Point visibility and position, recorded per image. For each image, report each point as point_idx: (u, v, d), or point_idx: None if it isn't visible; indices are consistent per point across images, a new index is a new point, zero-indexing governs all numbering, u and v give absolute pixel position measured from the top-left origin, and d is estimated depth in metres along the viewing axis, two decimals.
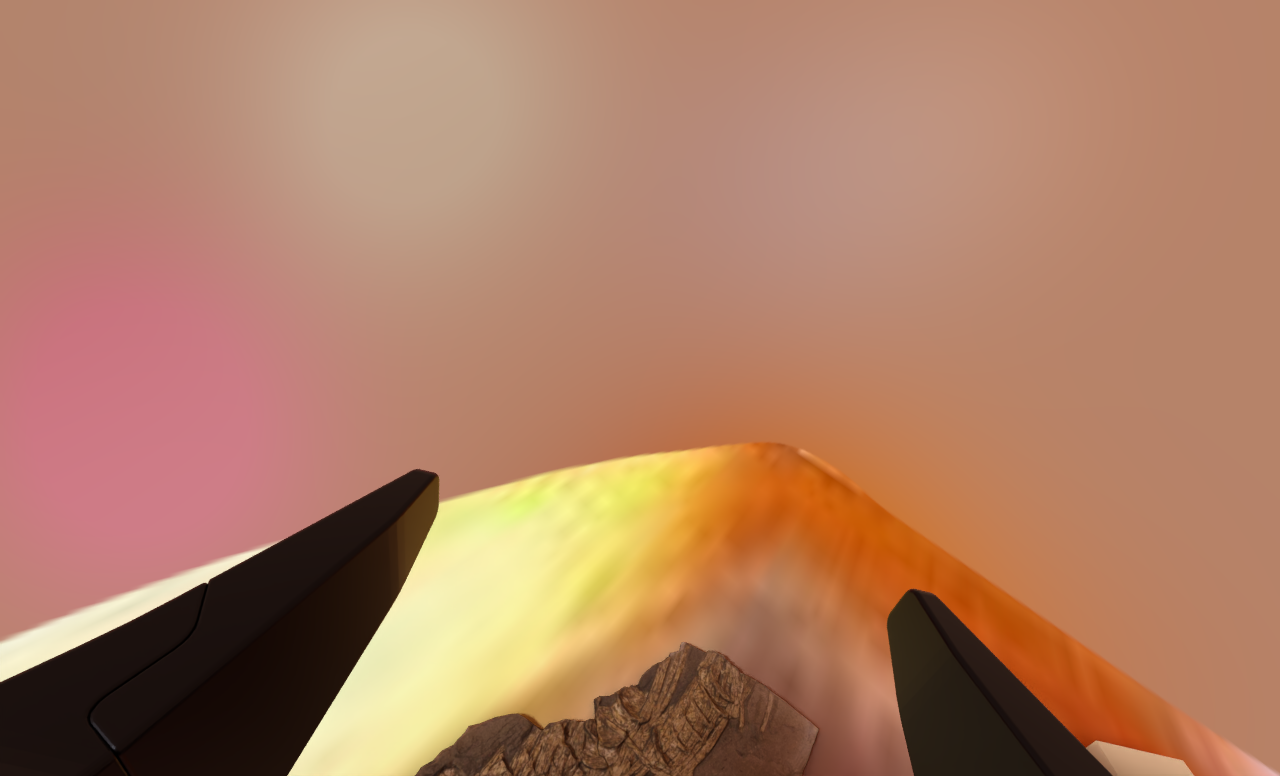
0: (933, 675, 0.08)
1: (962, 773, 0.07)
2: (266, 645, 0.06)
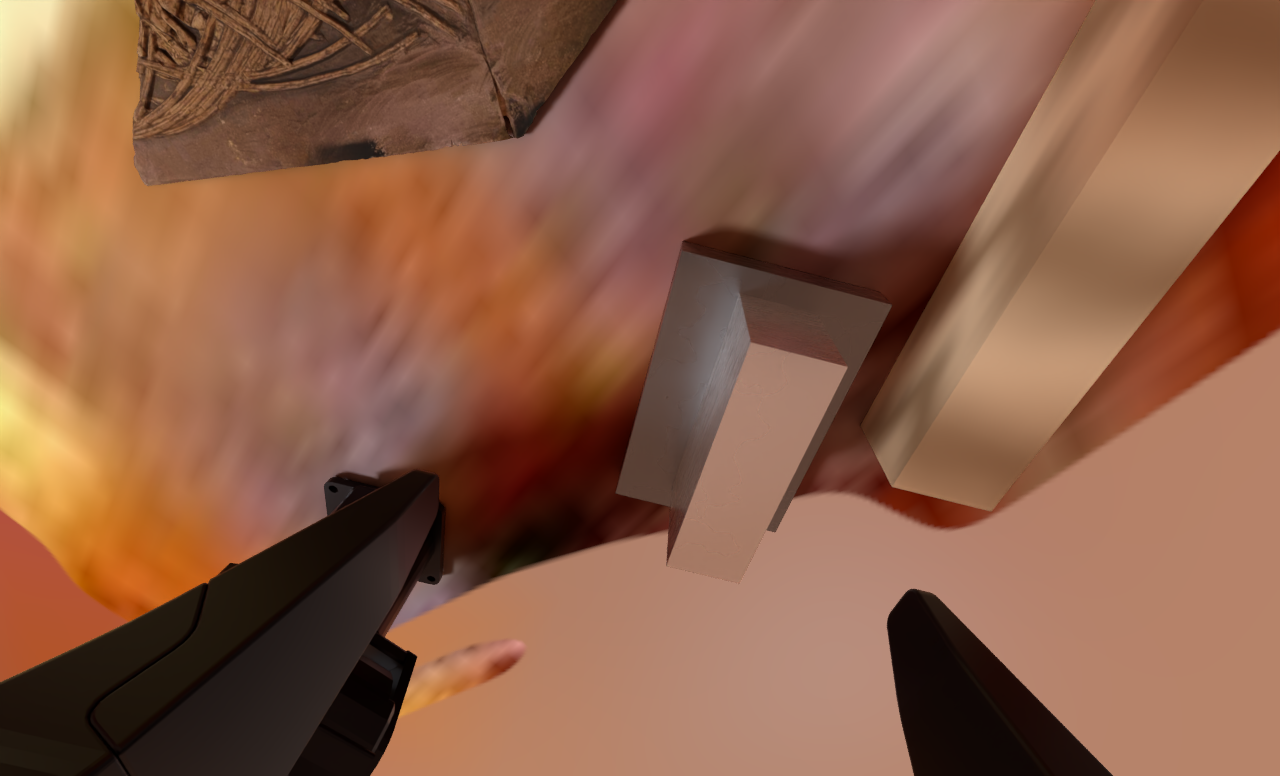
0: (933, 675, 0.08)
1: (962, 773, 0.07)
2: (266, 645, 0.06)
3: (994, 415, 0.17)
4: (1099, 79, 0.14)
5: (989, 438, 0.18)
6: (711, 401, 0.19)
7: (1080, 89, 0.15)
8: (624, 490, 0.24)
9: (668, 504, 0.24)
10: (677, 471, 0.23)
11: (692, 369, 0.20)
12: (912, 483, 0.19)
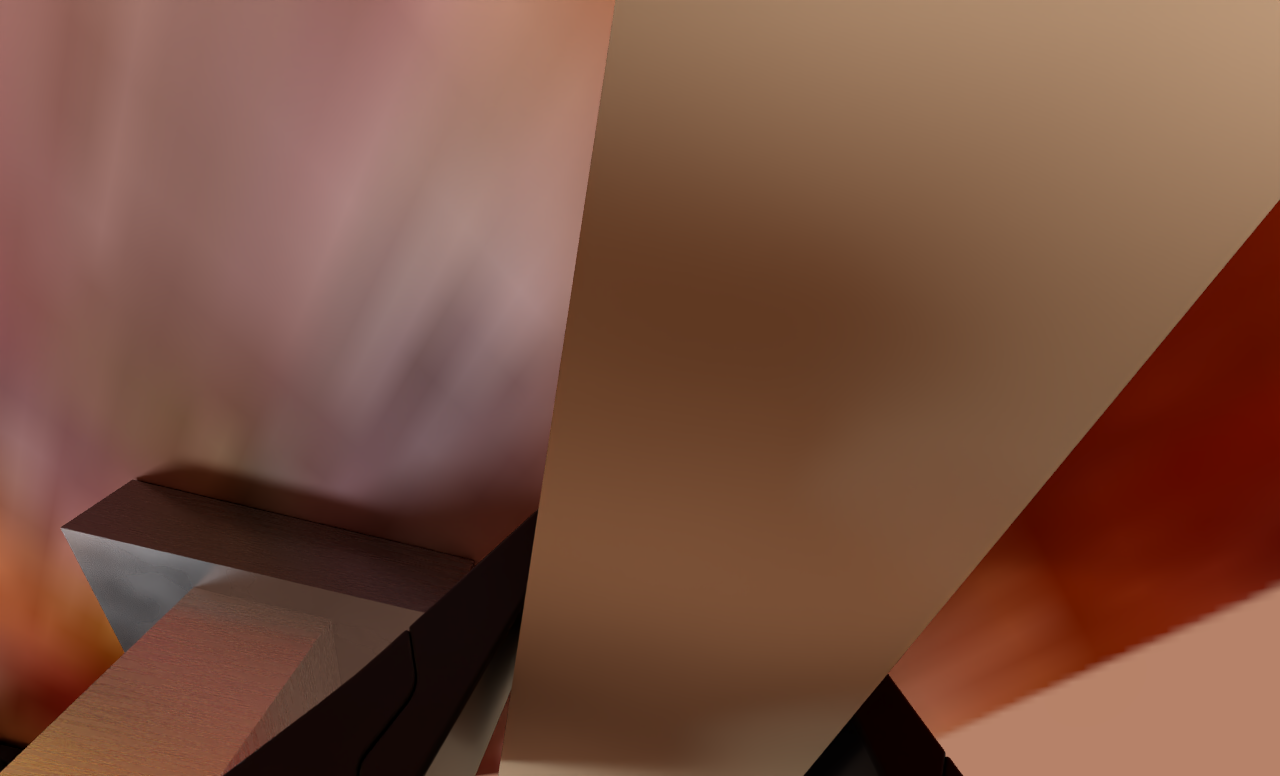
0: None
1: None
2: (476, 694, 0.06)
3: None
4: None
5: None
6: None
7: None
8: None
9: None
10: None
11: None
12: None
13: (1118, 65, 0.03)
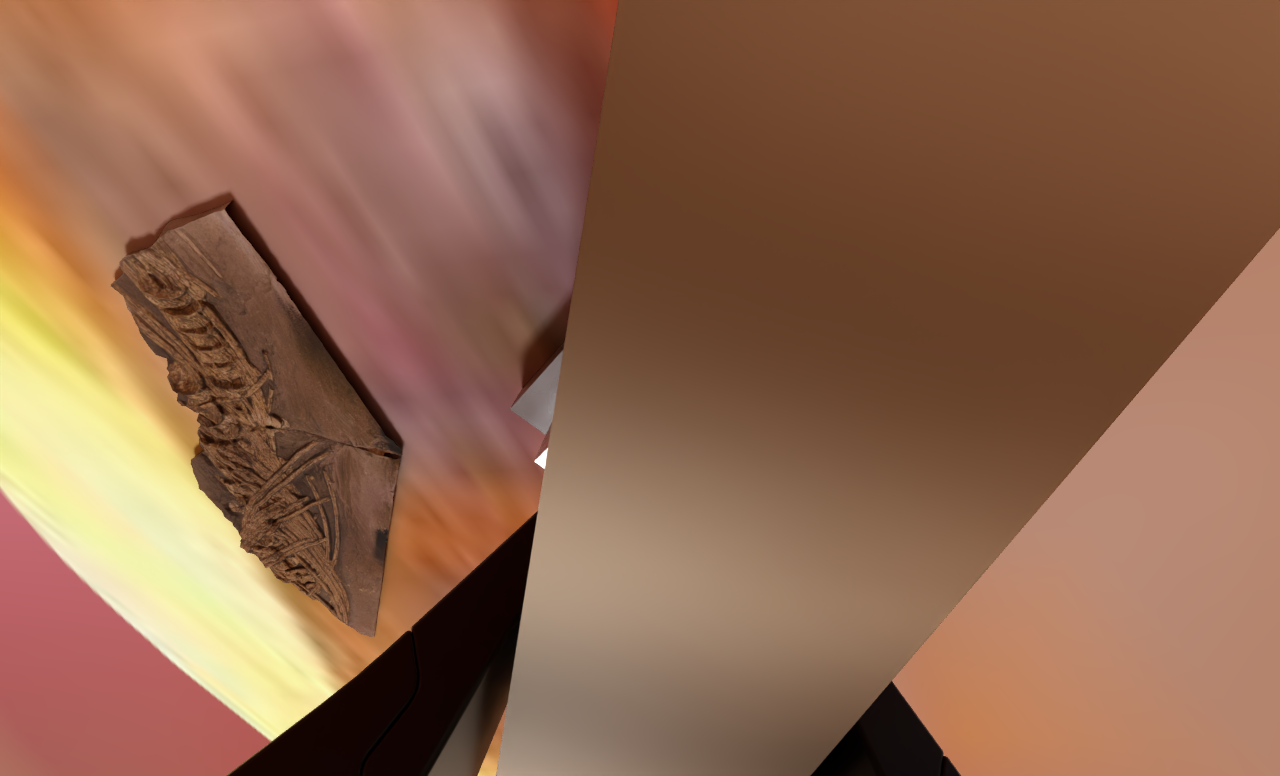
0: None
1: None
2: (478, 694, 0.06)
3: None
4: None
5: None
6: None
7: None
8: None
9: None
10: None
11: None
12: None
13: (1135, 66, 0.03)
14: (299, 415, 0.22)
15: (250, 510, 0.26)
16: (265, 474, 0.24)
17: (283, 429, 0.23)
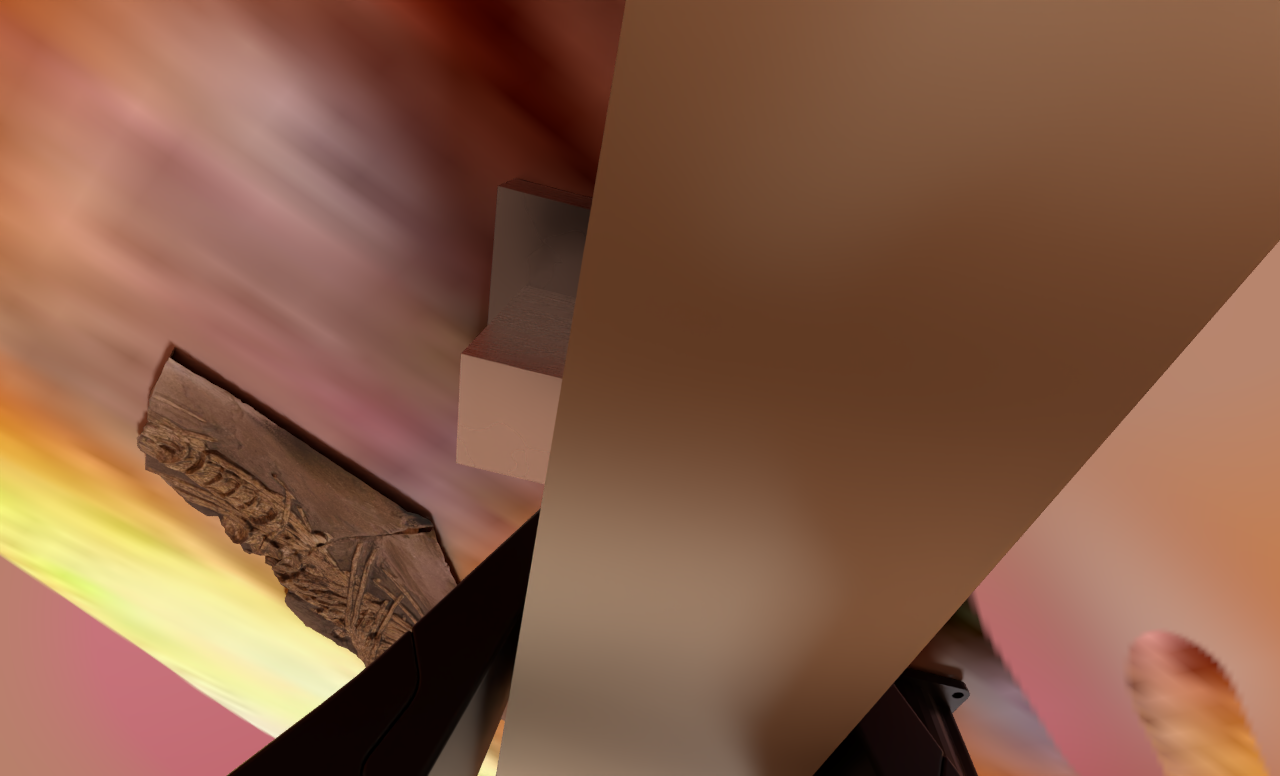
0: None
1: None
2: (478, 694, 0.06)
3: None
4: None
5: None
6: None
7: None
8: None
9: None
10: None
11: None
12: None
13: (1141, 72, 0.03)
14: (333, 523, 0.22)
15: (351, 631, 0.26)
16: (342, 592, 0.24)
17: (330, 542, 0.23)
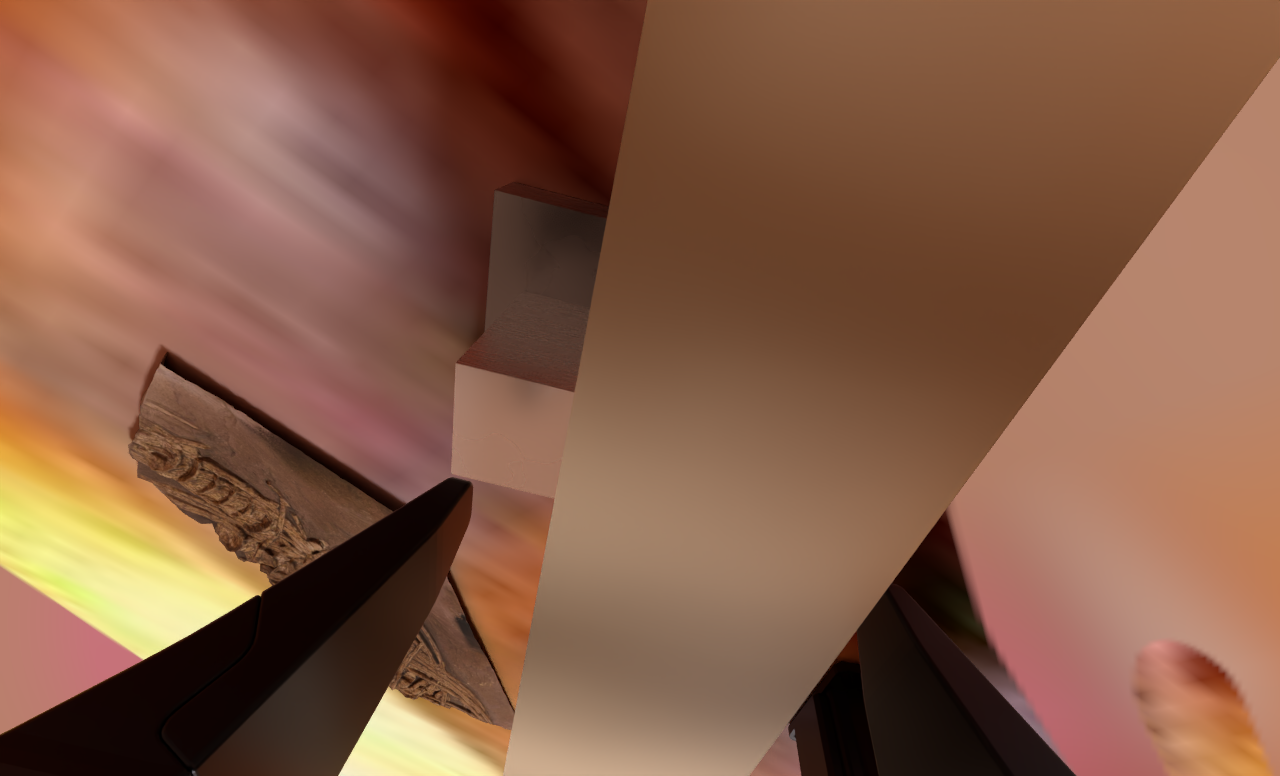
0: (896, 666, 0.08)
1: (920, 763, 0.07)
2: (321, 658, 0.06)
3: None
4: None
5: None
6: None
7: None
8: None
9: None
10: None
11: None
12: None
13: (1045, 82, 0.03)
14: (328, 530, 0.22)
15: None
16: None
17: (325, 550, 0.22)
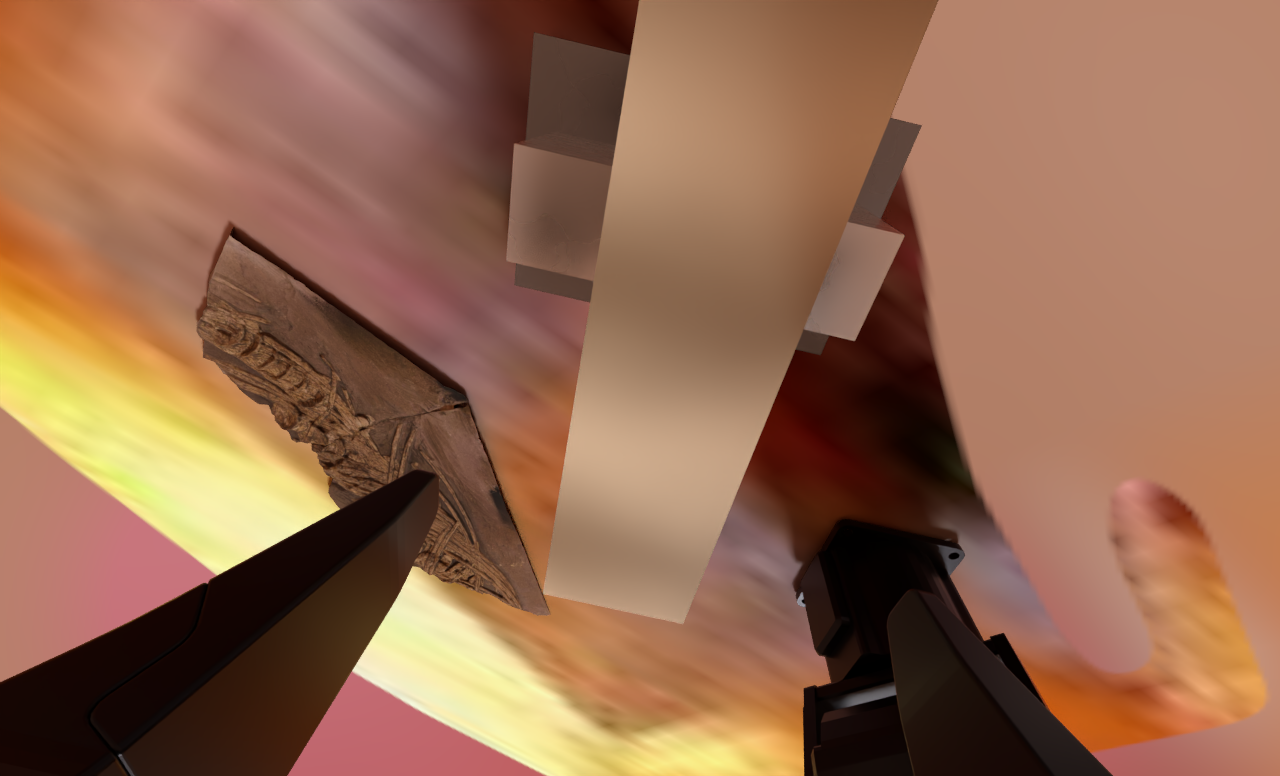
0: (933, 675, 0.08)
1: (962, 773, 0.07)
2: (266, 645, 0.06)
3: (631, 507, 0.12)
4: None
5: (638, 536, 0.12)
6: None
7: None
8: (816, 344, 0.19)
9: None
10: None
11: None
12: (567, 589, 0.14)
13: None
14: (375, 404, 0.24)
15: None
16: (382, 478, 0.26)
17: (371, 425, 0.25)
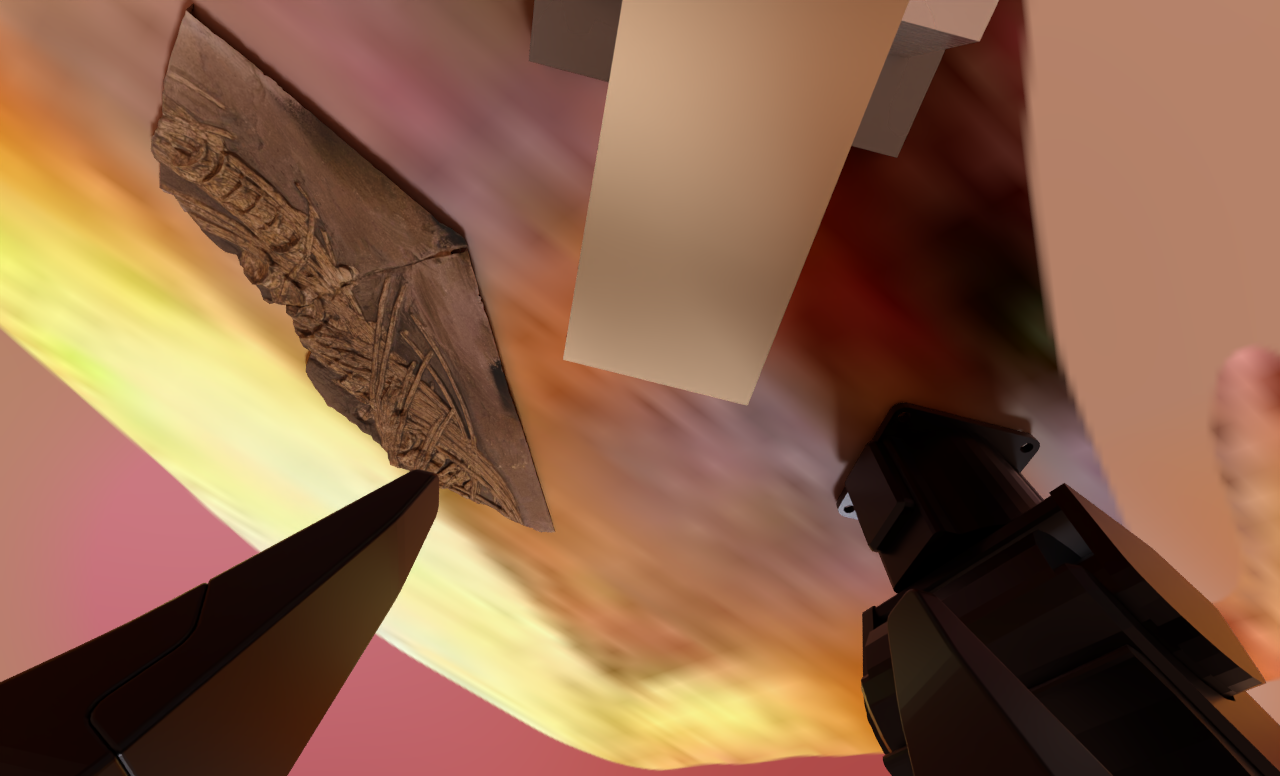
0: (933, 675, 0.08)
1: (962, 773, 0.07)
2: (266, 645, 0.06)
3: (696, 187, 0.09)
4: None
5: (700, 245, 0.09)
6: None
7: None
8: (893, 142, 0.16)
9: (936, 61, 0.15)
10: None
11: None
12: (595, 351, 0.10)
13: None
14: (359, 250, 0.21)
15: (376, 408, 0.24)
16: (367, 352, 0.23)
17: (355, 280, 0.21)
